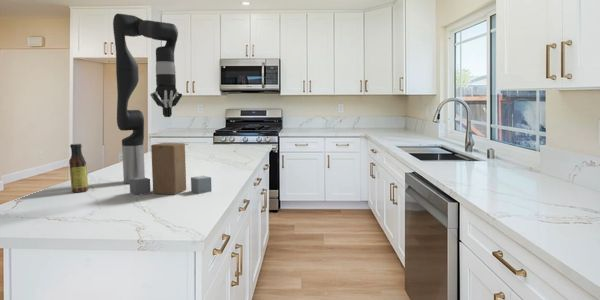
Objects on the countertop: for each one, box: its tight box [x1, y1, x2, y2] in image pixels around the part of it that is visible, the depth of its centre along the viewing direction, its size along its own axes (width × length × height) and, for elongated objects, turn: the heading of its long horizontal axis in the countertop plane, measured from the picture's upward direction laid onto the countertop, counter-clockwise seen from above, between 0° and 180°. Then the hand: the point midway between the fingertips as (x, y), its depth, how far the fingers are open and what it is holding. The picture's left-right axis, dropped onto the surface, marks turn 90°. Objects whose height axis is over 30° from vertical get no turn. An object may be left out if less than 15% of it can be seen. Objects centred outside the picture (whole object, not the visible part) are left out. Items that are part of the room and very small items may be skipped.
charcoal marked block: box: [129, 176, 151, 196], centre depth 174 cm, size 6×6×6 cm
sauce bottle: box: [68, 143, 89, 193], centre depth 177 cm, size 6×6×20 cm
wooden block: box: [150, 142, 187, 196], centre depth 175 cm, size 10×10×20 cm
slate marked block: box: [190, 175, 212, 194], centre depth 177 cm, size 6×6×6 cm
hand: (167, 116), depth 173 cm, fingers closed
